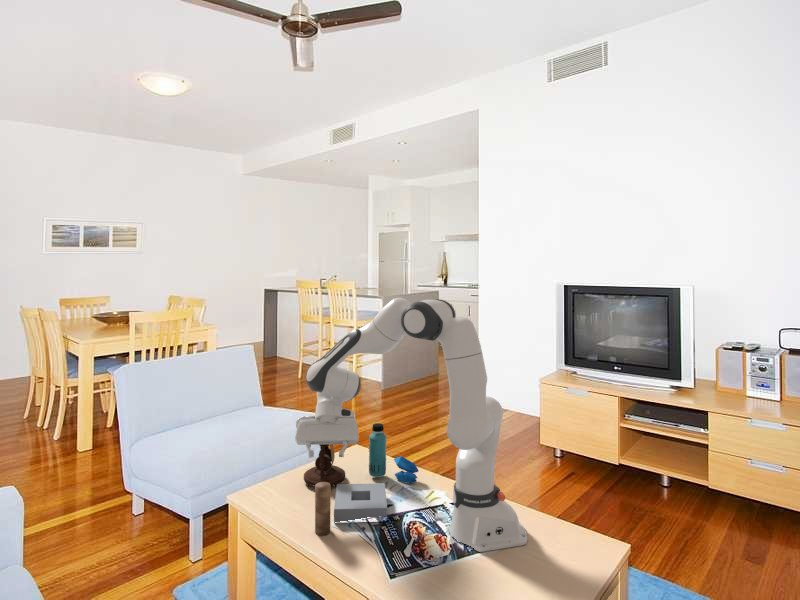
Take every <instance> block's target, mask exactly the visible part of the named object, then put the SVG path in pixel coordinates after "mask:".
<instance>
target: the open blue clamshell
mask: <svg viewBox="0 0 800 600" xmlns="http://www.w3.org/2000/svg"><path fill="white" fill-rule="evenodd" d="M393 460H394V462H395V464H396V466H397V467H398V468H399V469H400V471H399V472H398V471H397V472H396V473H394V477H395V478H396V479H397V481H398V482H402V483H406V484H413V483H415V482H417V479H418V477H417V475H416V473H419V468H418V467H417V465H416V464H415V463H414V462H412V460H411V461H410V460H409V459H407V458H406V457H404V456H399V457H395V458H393Z"/></svg>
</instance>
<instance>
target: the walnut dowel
mask: <svg viewBox="0 0 800 600" xmlns="http://www.w3.org/2000/svg"><path fill="white" fill-rule="evenodd" d="M331 487H332V486H331V485H330V483H328V482H320V483H317V484H316V485H315V486H314V494H315V495H314V499H315V500H314V501H315V504H314V515H315V516H314V523H315V524H314V531H315V532H314V534H315V535H317V536H319V537H325V536H327V535H329V534H330V533H331Z"/></svg>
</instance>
